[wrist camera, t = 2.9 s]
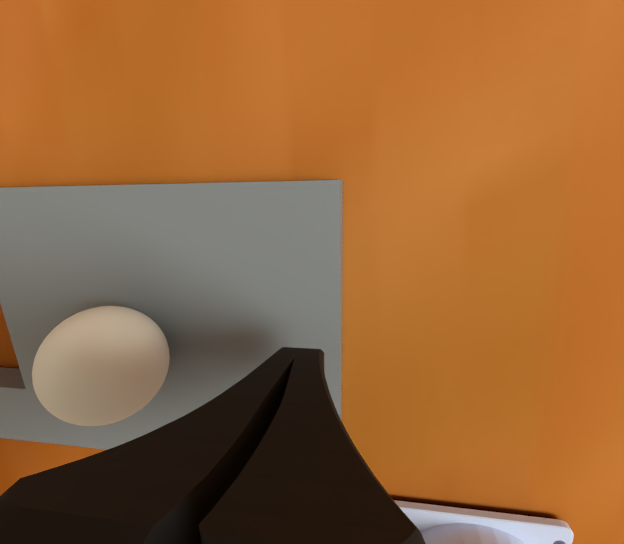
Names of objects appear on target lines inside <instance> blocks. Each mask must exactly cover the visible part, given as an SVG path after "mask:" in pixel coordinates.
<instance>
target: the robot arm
mask: <svg viewBox="0 0 624 544" xmlns="http://www.w3.org/2000/svg"><path fill="white" fill-rule="evenodd" d="M573 537H574V534H573V532H572V530H571V528H570V527H569V525H568V524H567V523H566V522H564V521H562V520H558V519H550V518H542V517H533V516H525V515H516V514H508V513H499V512H491V511H482V510H474V509H465V508H457V507H448V506H440V505H431V504H423V503H414V502H406V501H397V500H393V499H392V498H391V497H390V495H389V494H388V493H387V491H386V490H385V489H384V488H383V486H382V485H381V484H380V482H379V481H378V480H377V478H376V477H375V476H374V474H373V473H372V471H371V470H370V468H369V467H368V465H367V464H366V462H365V461H364V459H363V458H362V456H361V455H360V453H359V452H358V450H357V449H356V447H355V445H354V444H353V442H352V440H351V438H350V437H349V435H348V433H347V431H346V429H345V427H344V425H343V423H342V421H341V419H340V417H339V415H338V413H337V410H336V408H335V405H334V403H333V400H332V398H331V395H330V392H329V389H328V385H327V382H326V378H325V374H324V352H323V351H322V350H321V349H311V348H292V347H282V348H281V349H279V350H278V351H277V352H275V353H274V354H273V355H272V356H271V357H269V358H268V359H267V360H266V361H264V362H263V363H262V364H261V365H259V366H258V367H257V368H256V369H254V370H253V371H252V372H251V373H249V374H248V375H247V376H245V377H244V378H243V379H241V380H240V381H238V382H237V383H236V384H234V385H233V386H231V387H230V388H229V389H227V390H226V391H224V392H223V393H221V394H220V395H218V396H217V397H215V398H214V399H212V400H211V401H209V402H207V403H206V404H204V405H202V406H200V407H199V408H197V409H195V410H193V411H192V412H190V413H188V414H186V415H184V416H182V417H181V418H178V419H176V420H174V421H172V422H170V423H168V424H166V425H164V426H162V427H160V428H158V429H156V430H154V431H151V432H149V433H147V434H145V435H143V436H141V437H138V438H136V439H133V440H131V441H128V442H126V443H124V444H121V445H119V446H116V447H113V448H111V449H108V450H106V451H103V452H100V453H98V454H95V455H92V456H89V457H86V458H84V459H80V460H77V461H74V462H71V463H68V464H65V465H62V466H59V467H56V468H52V469H49V470H46V471H43V472H40V473H37V474H34V475H30V476H27V477H23V478H20V479H19V480H18V481H17V482H16V483H15V484H13V485H12V486H11V487H10V488H9V489H8V490H7V491H6V492H4V493H3V494H2V495H1V496H0V544H572V541H573Z"/></svg>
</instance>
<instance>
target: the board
mask: <svg viewBox="0 0 624 544" xmlns="http://www.w3.org/2000/svg"><path fill="white" fill-rule="evenodd" d="M342 235H343V180H318V181H273V182H229V183H184V184H139V185H95V186H50V187H6V188H0V304H1V308H2V311H3V314H4V318H5V321H6V325H7V328H8V331H9V335H10V338H11V341H12V345H13V348H14V351H15V355H16V358H17V361H18V365H19V368H6V367H0V438H5V439H14V440H23V441H33V442H42V443H51V444H60V445H69V446H78V447H87V448H97V449H106V450H108V449H111V448H113V447H116V446H119V445H121V444H124V443H126V442H128V441H131V440H133V439H136V438H138V437H141V436H143V435H145V434H147V433H149V432H151V431H154V430H156V429H158V428H160V427H162V426H164V425H166V424H168V423H170V422H172V421H174V420H176V419H178V418H181V417H182V416H184V415H186V414H188V413H190V412H192V411H193V410H195V409H197V408H199V407H200V406H202V405H204V404H206V403H207V402H209V401H211V400H212V399H214V398H215V397H217V396H218V395H220V394H221V393H223V392H224V391H226V390H227V389H229V388H230V387H231V386H233V385H234V384H236V383H237V382H238V381H240V380H241V379H243V378H244V377H245V376H247V375H248V374H249V373H251V372H252V371H253V370H254V369H256V368H257V367H258V366H259V365H261V364H262V363H263V362H264V361H266V360H267V359H268V358H269V357H271V356H272V355H273V354H274V353H275V352H277V351H278V350H279V349H281V348H282V347H292V348H311V349H321V350H322V351H323V352H324V374H325V378H326V382H327V385H328V389H329V392H330V395H331V398H332V400H333V403H334V405H335V408H336V410H337V413H338V415H339V417H340V419H341V421H342ZM101 306H120V307H127V308H131V309H134V310H136V311H139V312H141V313H143V314H145V315H146V316H148V317H149V318H151V319H152V320H153V321H154V322H155V323H156V324H157V325H158V326H159V328H160V329H161V330H162V332H163V333H164V335H165V337H166V340H167V343H168V347H169V355H170V360H169V368H168V372H167V375H166V378H165V380H164V383H163V384H162V386H161V388H160V389H159V391H158V392H157V394H156V395H155V396H154V397H153V399H152V400H151V401H150V402H149V403H148V404H147V405H145V406H144V407H143V408H142V409H141V410H139V411H138V412H136V413H135V414H133V415H131V416H130V417H127V418H125V419H123V420H121V421H118V422H115V423H112V424H108V425H102V426H80V425H75V424H71V423H67V422H65V421H62V420H60V419H59V418H57V417H55V416H54V415H52V414H51V413H50V412H48V411H47V410H46V409H45V408H44V406H43V405H42V404H41V403H40V401H39V399H38V397H37V395H36V393H35V390H34V387H33V381H32V368H33V363H34V359H35V356H36V353H37V351H38V349H39V347H40V345H41V344H42V342H43V341H44V339H45V338H46V337H47V335H48V334H49V333H50V332H51V331H52V330H53V329H54V328H55V327H56V326H58V325H59V324H60V323H61V322H63V321H64V320H65V319H67V318H69V317H71V316H73V315H74V314H76V313H79V312H81V311H84V310H87V309H90V308H95V307H101Z"/></svg>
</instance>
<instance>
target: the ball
mask: <svg viewBox="0 0 624 544" xmlns="http://www.w3.org/2000/svg"><path fill="white" fill-rule="evenodd" d="M169 360H170V355H169V347H168V343H167V340H166V337H165V335H164V333H163V332H162V330H161V329H160V328H159V326H158V325H157V324H156V323H155V322H154V321H153V320H152V319H151V318H149V317H148V316H146V315H145V314H143V313H141V312H139V311H136V310H134V309H131V308H127V307H120V306H101V307H95V308H90V309H87V310H84V311H81V312H79V313H76V314H74V315H73V316H71V317H69V318H67V319H65V320H64V321H63V322H61V323H60V324H59V325H58V326H56V327H55V328H54V329H53V330H52V331H51V332H50V333H49V334H48V335H47V337H46V338H45V339H44V341H43V342H42V344H41V345H40V347H39V349H38V351H37V353H36V356H35V359H34V363H33V368H32V381H33V387H34V390H35V393H36V395H37V397H38V399H39V401H40V403H41V404H42V405H43V406H44V408H45V409H46V410H47V411H48V412H50V413H51V414H52V415H54V416H55V417H57V418H59V419H60V420H62V421H65V422H67V423H71V424H75V425H80V426H102V425H108V424H112V423H115V422H118V421H121V420H123V419H125V418H127V417H130V416H131V415H133V414H135V413H136V412H138V411H139V410H141V409H142V408H143V407H144V406H145V405H147V404H148V403H149V402H150V401H151V400H152V399H153V397H154V396H155V395H156V394H157V392H158V391H159V389H160V388H161V386H162V384H163V383H164V380H165V378H166V375H167V372H168V368H169Z"/></svg>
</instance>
